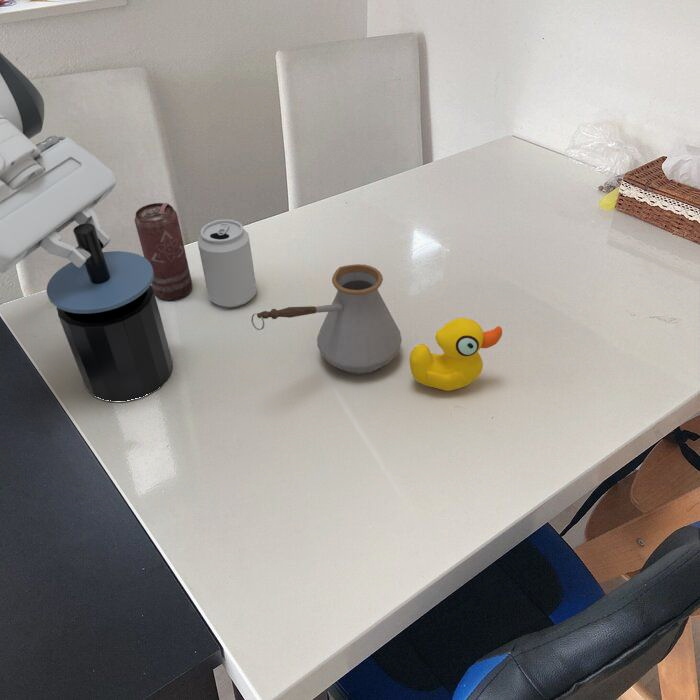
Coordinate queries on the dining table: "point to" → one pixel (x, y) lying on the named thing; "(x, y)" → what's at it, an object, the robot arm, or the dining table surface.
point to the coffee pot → (352, 322)
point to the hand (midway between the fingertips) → (95, 253)
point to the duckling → (453, 355)
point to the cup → (120, 348)
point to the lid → (99, 278)
